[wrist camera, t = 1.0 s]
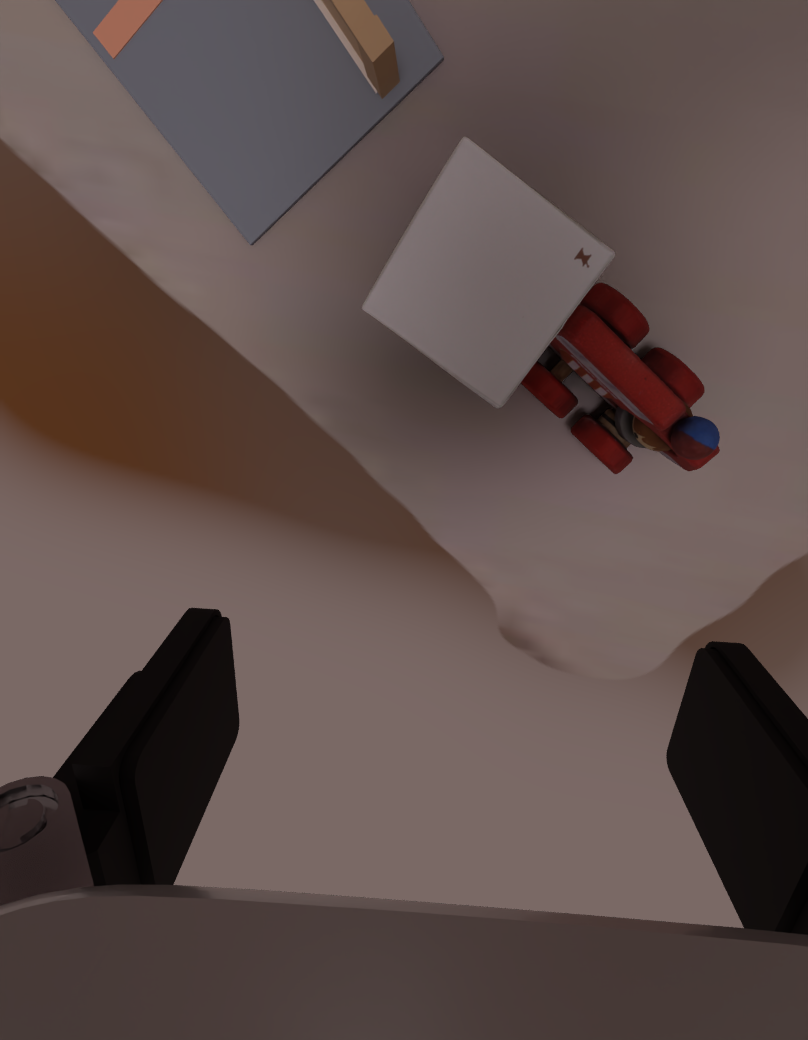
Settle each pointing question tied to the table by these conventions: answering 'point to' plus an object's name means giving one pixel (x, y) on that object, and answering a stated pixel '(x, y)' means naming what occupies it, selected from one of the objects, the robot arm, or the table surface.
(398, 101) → the card
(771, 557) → the table surface
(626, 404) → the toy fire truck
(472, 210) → the supplement box
